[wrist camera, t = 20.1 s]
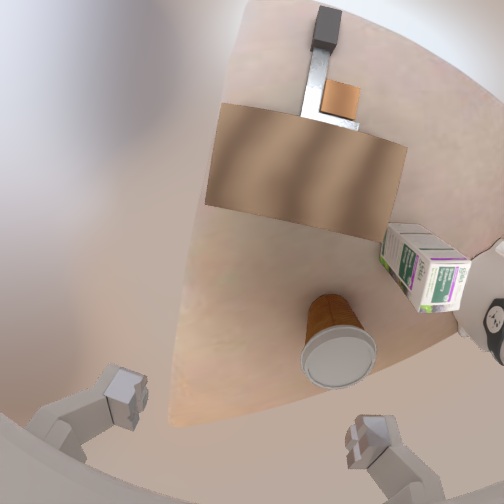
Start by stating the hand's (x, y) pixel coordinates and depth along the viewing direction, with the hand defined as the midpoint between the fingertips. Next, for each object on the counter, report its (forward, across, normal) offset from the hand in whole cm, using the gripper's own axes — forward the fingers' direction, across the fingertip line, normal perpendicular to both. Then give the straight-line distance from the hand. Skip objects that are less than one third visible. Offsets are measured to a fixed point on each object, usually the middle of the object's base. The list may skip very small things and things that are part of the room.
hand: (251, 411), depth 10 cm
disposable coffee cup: (+31, +11, -13) cm, 36 cm away
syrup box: (+31, +18, 0) cm, 36 cm away
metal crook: (+31, +4, +19) cm, 37 cm away
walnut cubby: (+31, +2, +7) cm, 32 cm away
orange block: (+31, +5, +16) cm, 35 cm away
